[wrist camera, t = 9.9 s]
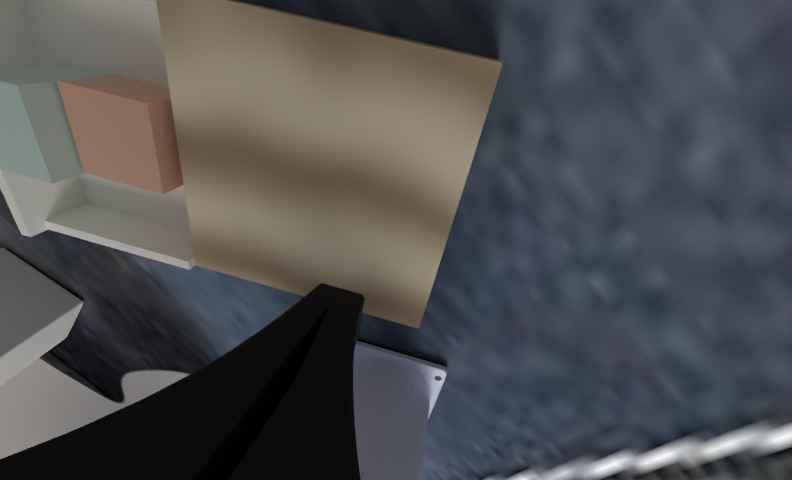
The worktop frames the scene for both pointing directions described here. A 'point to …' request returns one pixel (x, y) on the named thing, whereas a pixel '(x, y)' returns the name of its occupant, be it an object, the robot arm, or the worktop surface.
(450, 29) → the worktop surface
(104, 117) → the salmon pink cube
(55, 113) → the sage green cube
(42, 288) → the milk carton
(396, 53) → the beech board
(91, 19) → the tray
